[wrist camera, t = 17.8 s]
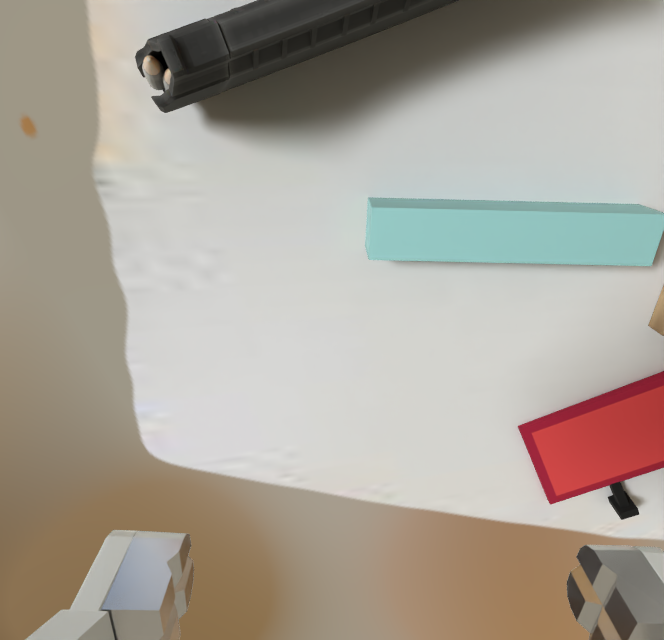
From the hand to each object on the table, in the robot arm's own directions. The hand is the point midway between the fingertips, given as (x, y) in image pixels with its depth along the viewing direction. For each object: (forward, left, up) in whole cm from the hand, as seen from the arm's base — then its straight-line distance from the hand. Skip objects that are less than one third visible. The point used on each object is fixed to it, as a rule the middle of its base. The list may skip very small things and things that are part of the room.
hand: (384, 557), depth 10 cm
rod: (0, +13, -32) cm, 34 cm away
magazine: (-14, +1, -31) cm, 35 cm away
